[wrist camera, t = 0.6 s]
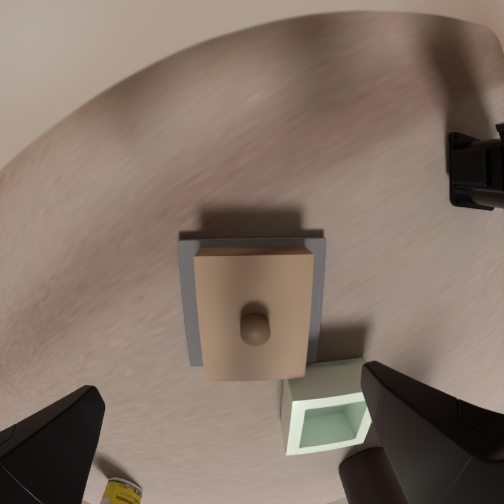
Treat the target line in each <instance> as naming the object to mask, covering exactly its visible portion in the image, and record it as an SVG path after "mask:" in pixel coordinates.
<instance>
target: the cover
mask: <svg viewBox="0 0 504 504" xmlns="http://www.w3.org/2000/svg"><path fill="white" fill-rule="evenodd" d="M313 263H314V254H313V253H312V252H311V251H310V250H309V249H307V248H306V247H305V246H269V247H212V248H199V250H198V251H197V252H196V254H195V255H194V271H195V285H196V298H197V310H198V321H199V331H200V341H201V350H202V359H203V367H204V375H205V381H262V380H281V379H295V378H304V377H305V368H306V358H307V348H308V337H309V326H310V313H311V299H312V283H313Z"/></svg>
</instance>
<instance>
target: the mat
mask: <svg viewBox="0 0 504 504" xmlns="http://www.w3.org/2000/svg"><path fill="white" fill-rule="evenodd" d="M269 246H305V247H306V248H307V249H309V250H310V251H311V252H312V253H313V254H314V263H313V283H312V299H311V313H310V326H309V337H308V348H307V358H306V363H314V362H316V358H317V350H318V341H319V332H320V322H321V311H322V299H323V286H324V271H325V253H326V238H325V237H269V238H212V239H179V240H178V256H179V270H180V282H181V293H182V303H183V312H184V321H185V330H186V338H187V345H188V353H189V360H190V366H203V359H202V350H201V341H200V331H199V321H198V310H197V298H196V285H195V271H194V255H195V254H196V252H197V251H198V250H199V248H212V247H269Z"/></svg>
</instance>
